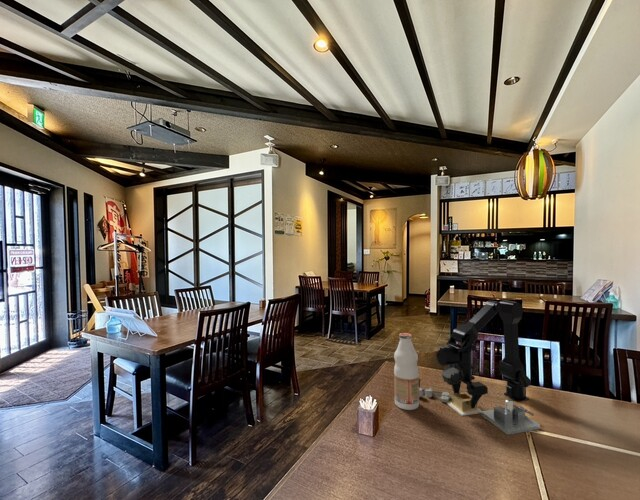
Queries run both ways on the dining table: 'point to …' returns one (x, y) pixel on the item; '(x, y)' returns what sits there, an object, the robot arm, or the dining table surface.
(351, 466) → the dining table surface
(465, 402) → the brass collar
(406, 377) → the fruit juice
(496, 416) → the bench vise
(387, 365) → the dining table surface
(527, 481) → the dining table surface
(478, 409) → the felt mat
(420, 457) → the dining table surface
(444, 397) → the pulley system
